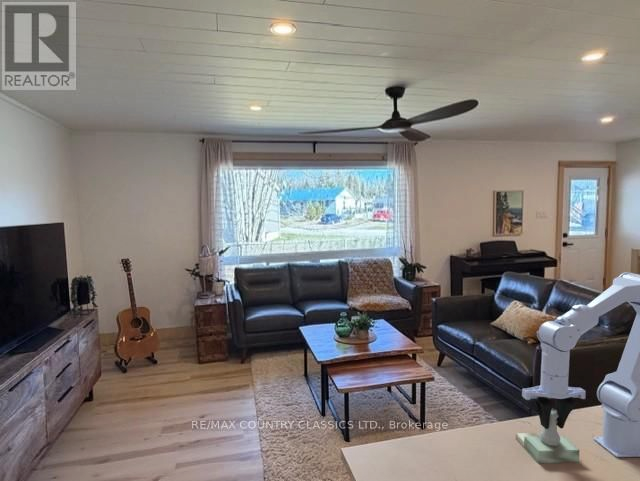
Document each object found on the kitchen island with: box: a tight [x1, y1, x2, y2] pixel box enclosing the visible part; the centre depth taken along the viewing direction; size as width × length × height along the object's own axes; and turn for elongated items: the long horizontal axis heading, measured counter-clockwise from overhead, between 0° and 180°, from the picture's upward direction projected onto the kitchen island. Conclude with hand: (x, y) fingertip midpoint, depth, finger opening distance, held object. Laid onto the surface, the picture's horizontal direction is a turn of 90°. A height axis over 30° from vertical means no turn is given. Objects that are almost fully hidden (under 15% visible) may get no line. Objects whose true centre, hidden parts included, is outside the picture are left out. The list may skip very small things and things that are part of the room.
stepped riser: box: [515, 432, 581, 464], centre depth 100 cm, size 10×10×3 cm
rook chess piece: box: [539, 408, 561, 446], centre depth 98 cm, size 4×4×8 cm
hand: (552, 426), depth 98 cm, fingers closed on rook chess piece, 3 cm apart
